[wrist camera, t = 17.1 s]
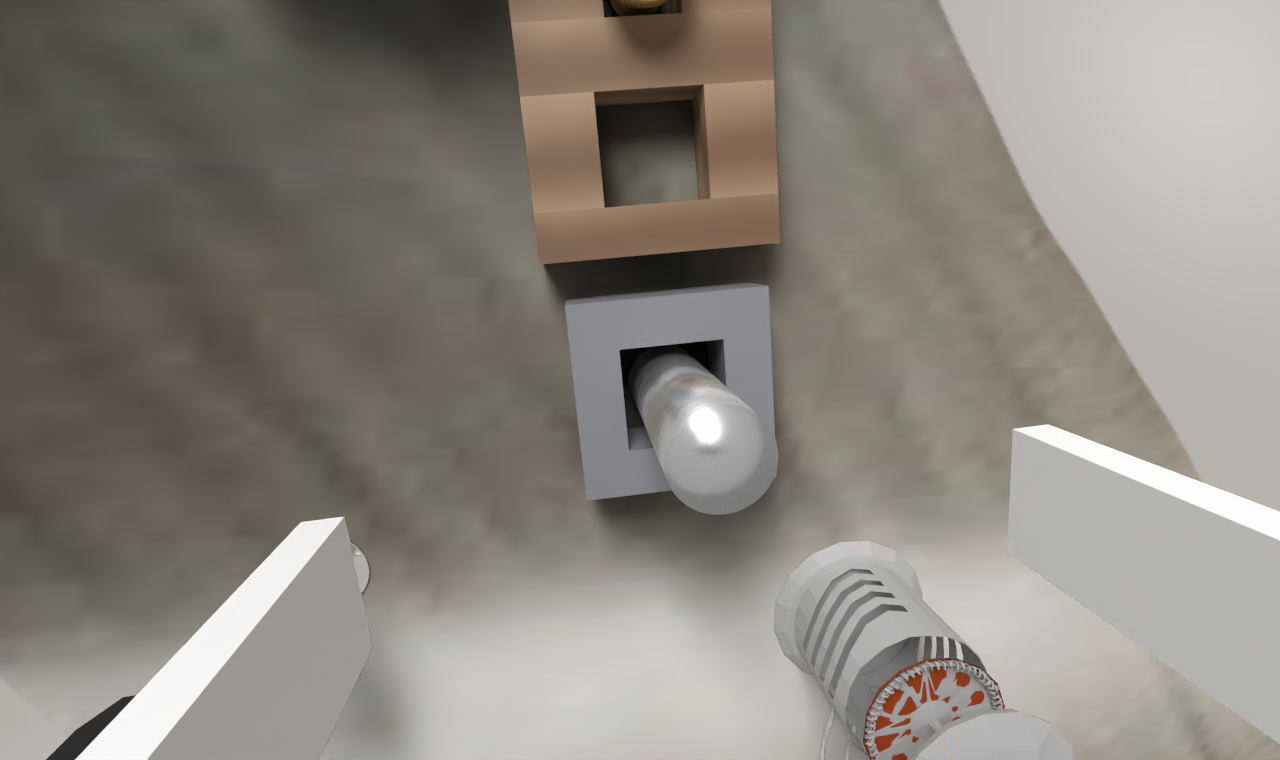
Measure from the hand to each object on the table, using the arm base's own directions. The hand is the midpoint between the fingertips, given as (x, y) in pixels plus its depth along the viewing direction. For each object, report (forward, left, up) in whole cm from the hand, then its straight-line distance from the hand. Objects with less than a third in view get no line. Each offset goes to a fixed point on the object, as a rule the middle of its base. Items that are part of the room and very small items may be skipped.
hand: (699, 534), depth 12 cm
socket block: (-13, +2, -23) cm, 26 cm away
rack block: (+2, +2, -23) cm, 23 cm away
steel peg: (+2, +2, -23) cm, 23 cm away
